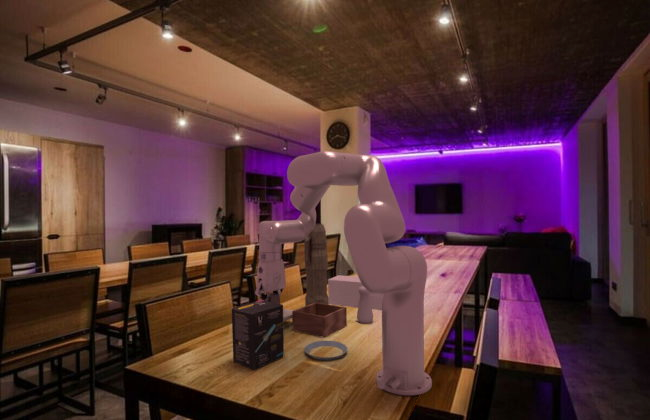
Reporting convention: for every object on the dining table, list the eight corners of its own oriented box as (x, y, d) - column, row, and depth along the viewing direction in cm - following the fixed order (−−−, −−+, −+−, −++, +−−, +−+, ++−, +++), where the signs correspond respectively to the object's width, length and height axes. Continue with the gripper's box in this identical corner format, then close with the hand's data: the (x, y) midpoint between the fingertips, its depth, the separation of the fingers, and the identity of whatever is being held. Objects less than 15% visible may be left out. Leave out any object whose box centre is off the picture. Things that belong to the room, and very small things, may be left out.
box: (324, 339, 112) (324, 317, 112) (292, 332, 119) (292, 311, 119) (346, 328, 122) (346, 307, 122) (315, 321, 130) (315, 302, 130)
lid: (272, 326, 114) (271, 301, 114) (241, 318, 122) (241, 296, 122) (299, 315, 126) (299, 293, 125) (270, 309, 134) (270, 288, 134)
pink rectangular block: (409, 306, 149) (408, 280, 149) (402, 313, 139) (402, 285, 139) (338, 298, 163) (338, 275, 163) (328, 304, 154) (328, 279, 154)
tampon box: (262, 349, 105) (261, 299, 105) (285, 357, 99) (284, 303, 99) (231, 361, 97) (230, 307, 97) (253, 371, 91) (252, 313, 91)
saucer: (354, 353, 102) (354, 345, 102) (332, 369, 92) (332, 360, 92) (320, 345, 108) (320, 337, 108) (296, 359, 98) (295, 351, 98)
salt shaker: (372, 326, 123) (372, 288, 123) (356, 325, 124) (355, 288, 124) (373, 321, 129) (373, 285, 129) (357, 320, 130) (357, 284, 130)
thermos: (298, 317, 136) (297, 224, 136) (315, 309, 146) (313, 222, 146) (318, 320, 131) (317, 224, 131) (334, 312, 142) (333, 223, 142)
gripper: (260, 260, 115) (261, 318, 115) (294, 254, 128) (295, 306, 128) (244, 259, 119) (245, 314, 119) (278, 253, 133) (279, 303, 133)
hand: (271, 309), depth 124 cm, fingers closed on lid, 4 cm apart
